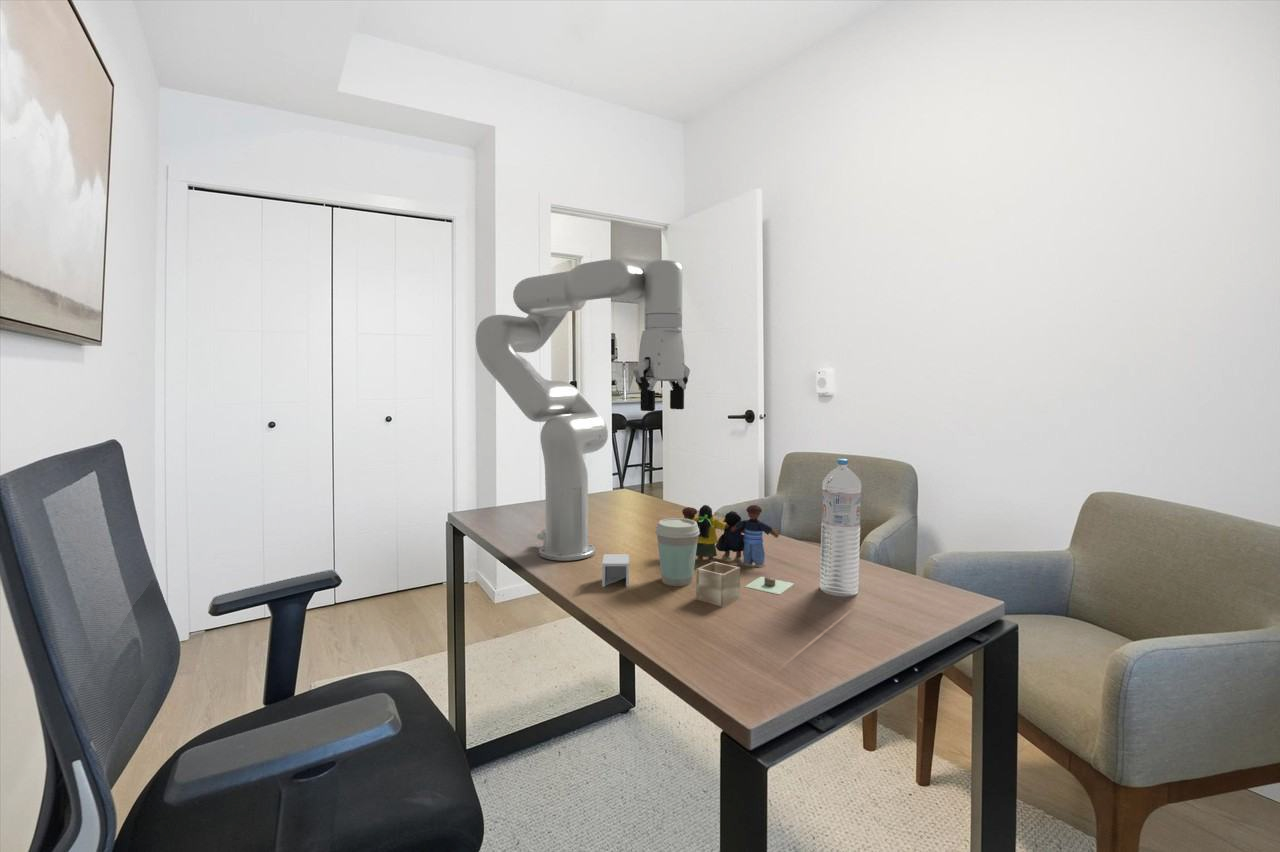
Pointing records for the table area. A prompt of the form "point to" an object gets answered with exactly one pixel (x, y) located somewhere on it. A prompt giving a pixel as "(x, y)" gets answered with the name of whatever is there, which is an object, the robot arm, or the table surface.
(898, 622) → the table surface
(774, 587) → the lid
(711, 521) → the doll family
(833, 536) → the water bottle
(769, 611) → the table surface
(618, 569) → the white cuboid
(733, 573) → the box
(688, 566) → the coffee cup
